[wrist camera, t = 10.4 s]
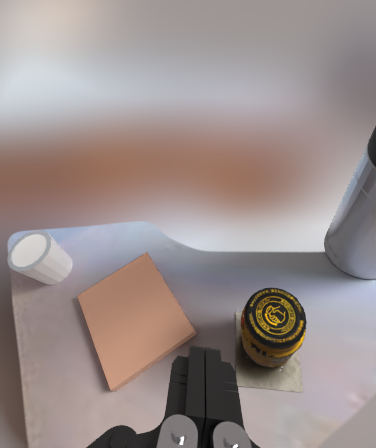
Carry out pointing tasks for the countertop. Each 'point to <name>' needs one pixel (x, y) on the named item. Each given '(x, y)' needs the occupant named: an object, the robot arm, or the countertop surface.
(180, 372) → the robot arm
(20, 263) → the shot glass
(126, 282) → the tile
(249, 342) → the condiment
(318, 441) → the countertop surface
